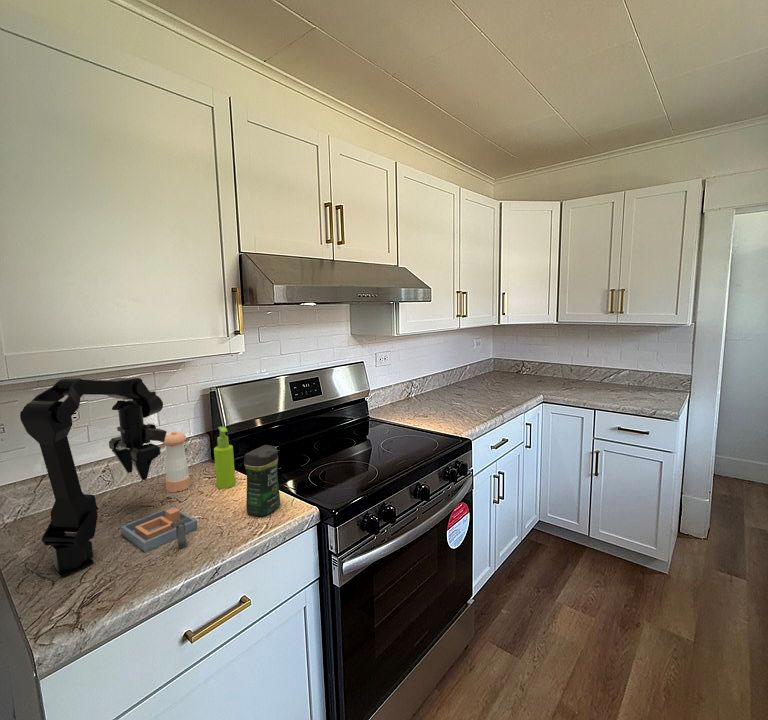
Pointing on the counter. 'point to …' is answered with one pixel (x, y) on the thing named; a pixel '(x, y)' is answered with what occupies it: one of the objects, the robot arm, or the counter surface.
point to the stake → (180, 532)
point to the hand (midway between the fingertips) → (137, 476)
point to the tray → (159, 540)
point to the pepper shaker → (176, 463)
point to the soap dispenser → (224, 461)
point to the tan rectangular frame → (158, 524)
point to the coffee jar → (262, 480)
